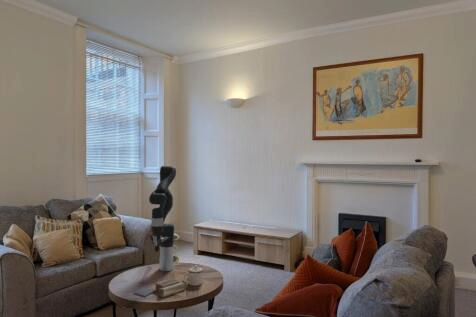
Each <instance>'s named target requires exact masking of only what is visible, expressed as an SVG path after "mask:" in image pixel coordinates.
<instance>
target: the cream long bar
mask: <svg viewBox="0 0 476 317" xmlns="http://www.w3.org/2000/svg"><path fill="white" fill-rule="evenodd" d="M186 289H187V280H186V281H185V280H182V281H179V283H177V284H174V285H171V286H168V287H165V288H159V292H158V296H159V297H160V298H165V297H168V296H170V295H174V294H177V293H179V292H181V291H184V290H186Z"/></svg>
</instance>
